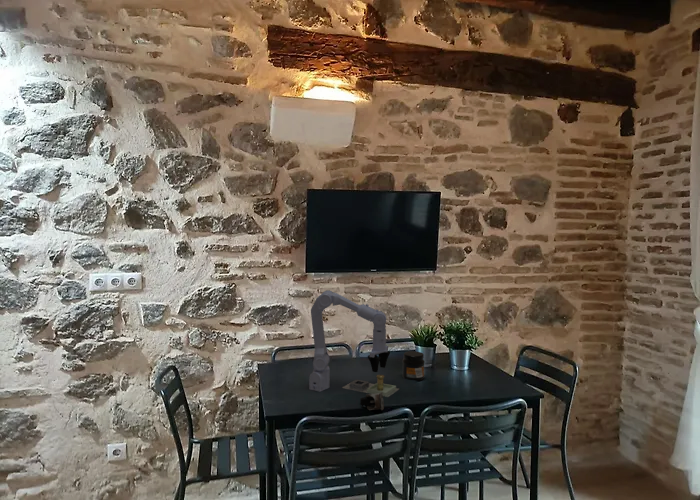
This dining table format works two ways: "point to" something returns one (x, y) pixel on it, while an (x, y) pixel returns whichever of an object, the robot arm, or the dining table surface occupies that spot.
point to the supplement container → (413, 365)
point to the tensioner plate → (366, 389)
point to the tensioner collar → (359, 384)
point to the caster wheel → (373, 401)
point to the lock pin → (380, 382)
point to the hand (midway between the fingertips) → (378, 369)
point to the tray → (386, 389)
